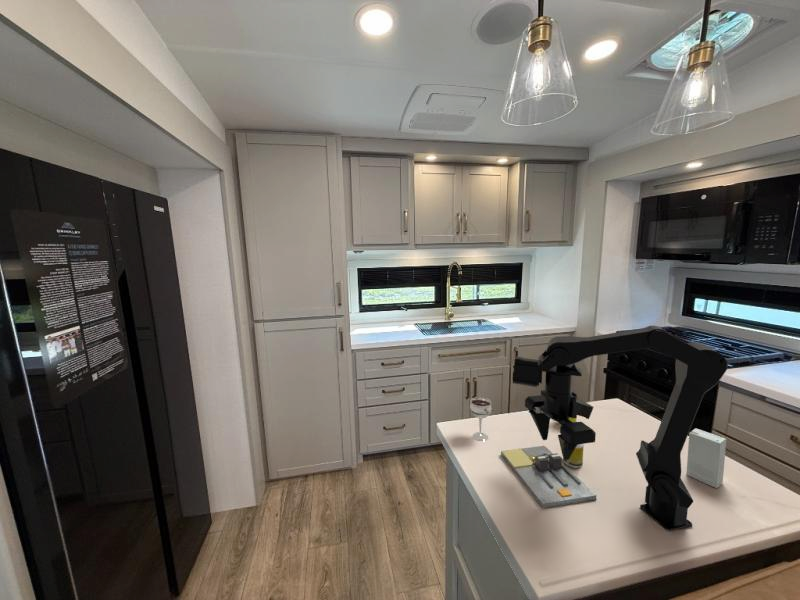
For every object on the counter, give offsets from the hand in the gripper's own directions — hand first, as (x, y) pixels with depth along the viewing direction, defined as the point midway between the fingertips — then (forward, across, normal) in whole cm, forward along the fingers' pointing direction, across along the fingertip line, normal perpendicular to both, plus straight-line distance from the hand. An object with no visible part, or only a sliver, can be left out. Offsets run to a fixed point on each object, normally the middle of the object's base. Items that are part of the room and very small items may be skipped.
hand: (554, 449), depth 77 cm
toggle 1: (+9, +5, 0) cm, 10 cm away
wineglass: (+10, +24, +9) cm, 28 cm away
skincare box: (+10, -5, -39) cm, 41 cm away
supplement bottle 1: (+10, +25, -23) cm, 35 cm away
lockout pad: (+9, +10, +4) cm, 14 cm away
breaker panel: (+10, +4, 0) cm, 11 cm away
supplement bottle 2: (+10, +7, -11) cm, 17 cm away
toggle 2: (+9, +5, -4) cm, 11 cm away
